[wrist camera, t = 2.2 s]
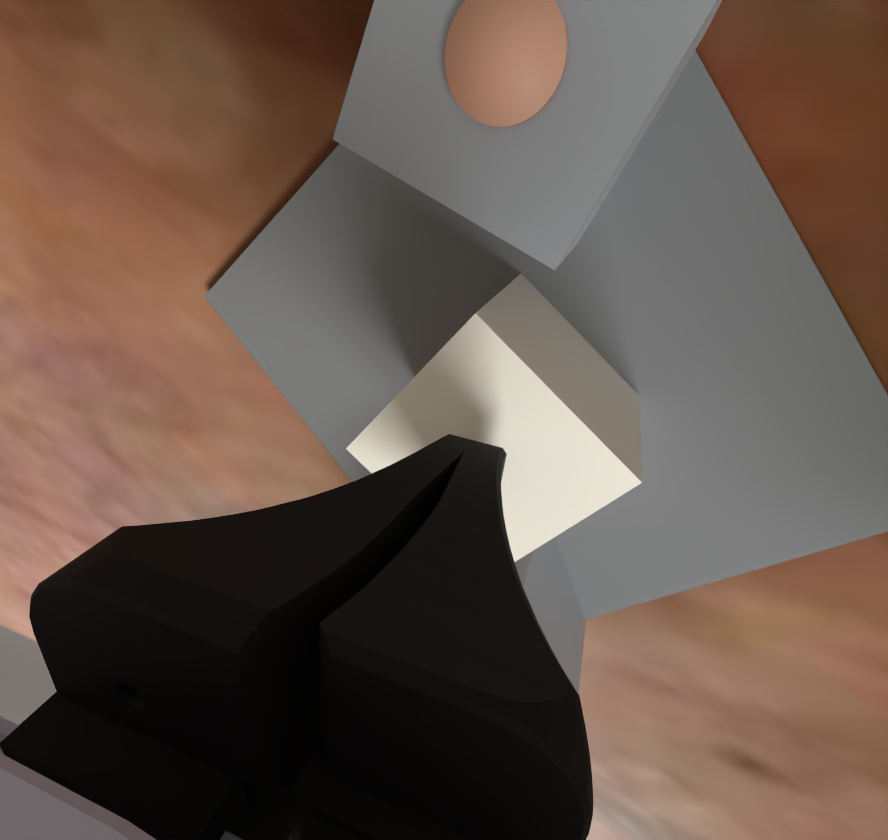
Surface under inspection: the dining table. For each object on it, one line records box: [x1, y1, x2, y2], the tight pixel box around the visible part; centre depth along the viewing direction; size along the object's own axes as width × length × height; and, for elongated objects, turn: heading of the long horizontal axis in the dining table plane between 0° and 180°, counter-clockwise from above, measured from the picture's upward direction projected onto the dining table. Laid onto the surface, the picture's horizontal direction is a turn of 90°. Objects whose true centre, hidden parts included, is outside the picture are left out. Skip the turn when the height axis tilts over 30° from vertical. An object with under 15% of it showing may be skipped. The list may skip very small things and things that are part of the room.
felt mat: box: [204, 50, 888, 619], centre depth 16 cm, size 16×18×1 cm
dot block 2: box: [514, 538, 586, 693], centre depth 17 cm, size 5×5×5 cm
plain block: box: [346, 273, 642, 562], centre depth 14 cm, size 5×5×5 cm
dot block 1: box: [333, 0, 722, 270], centre depth 10 cm, size 5×5×5 cm
